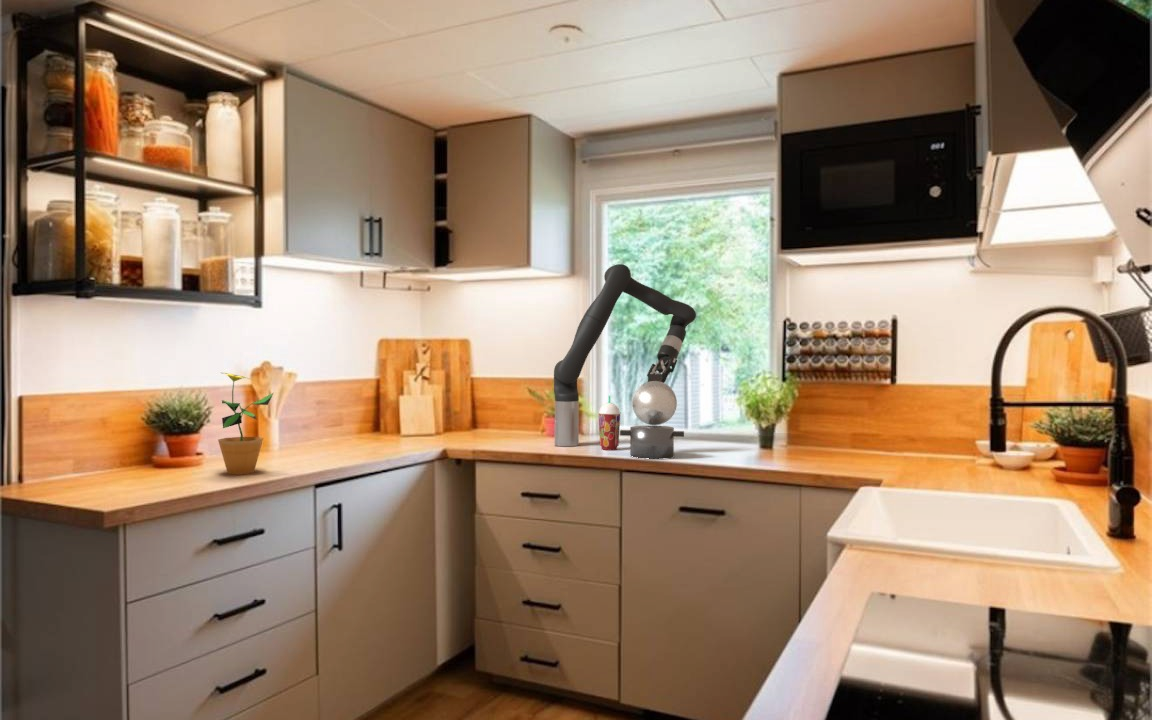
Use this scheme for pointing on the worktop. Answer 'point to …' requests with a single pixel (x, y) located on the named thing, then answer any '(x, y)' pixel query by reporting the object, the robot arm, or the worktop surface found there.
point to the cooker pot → (652, 441)
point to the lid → (654, 401)
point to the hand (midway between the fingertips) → (655, 383)
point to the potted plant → (240, 439)
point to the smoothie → (609, 426)
